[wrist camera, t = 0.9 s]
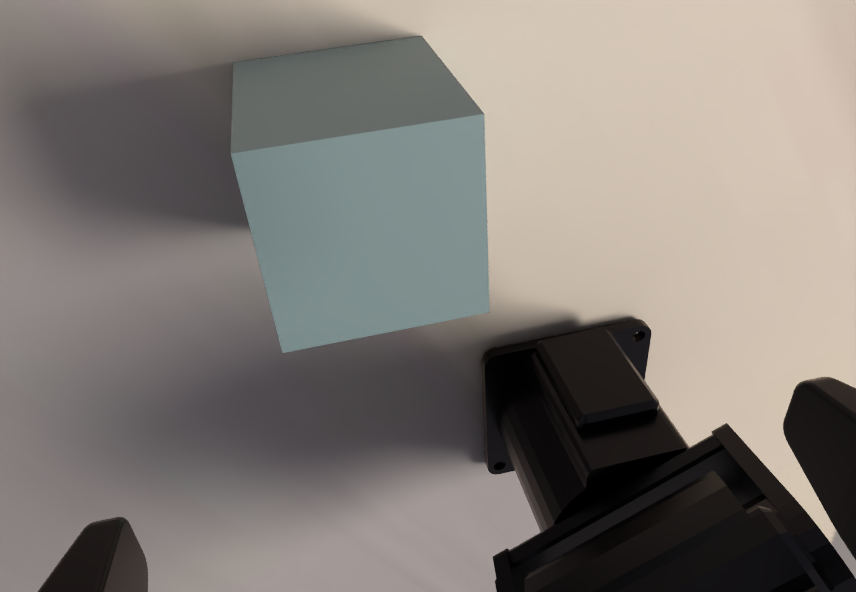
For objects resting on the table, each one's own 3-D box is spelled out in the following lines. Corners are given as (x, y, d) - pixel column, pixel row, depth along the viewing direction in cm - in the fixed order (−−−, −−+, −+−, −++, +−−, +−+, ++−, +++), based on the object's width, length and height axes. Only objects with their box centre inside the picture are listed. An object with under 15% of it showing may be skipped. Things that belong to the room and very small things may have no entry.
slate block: (434, 200, 22) (489, 312, 17) (273, 228, 21) (282, 353, 16) (421, 35, 19) (484, 114, 14) (233, 61, 18) (230, 153, 13)
